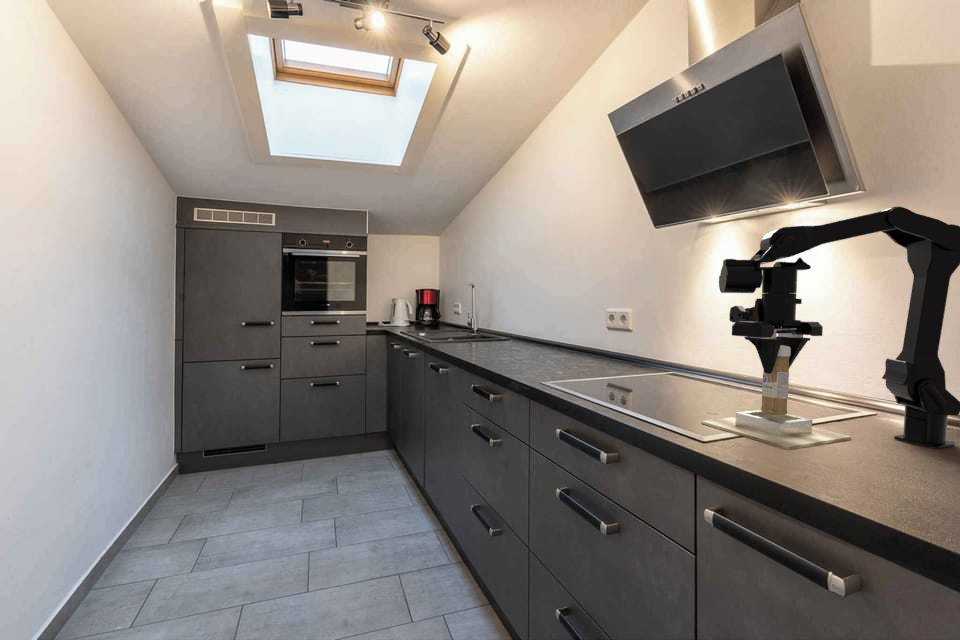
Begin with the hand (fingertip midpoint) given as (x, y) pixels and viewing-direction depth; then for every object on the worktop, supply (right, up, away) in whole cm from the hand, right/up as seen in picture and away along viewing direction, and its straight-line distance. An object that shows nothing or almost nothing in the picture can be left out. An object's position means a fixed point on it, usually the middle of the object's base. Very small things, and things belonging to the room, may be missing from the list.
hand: (775, 372), depth 91 cm
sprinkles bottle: (0, -8, 0) cm, 8 cm away
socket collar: (0, -12, +1) cm, 12 cm away
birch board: (0, -12, +1) cm, 12 cm away
